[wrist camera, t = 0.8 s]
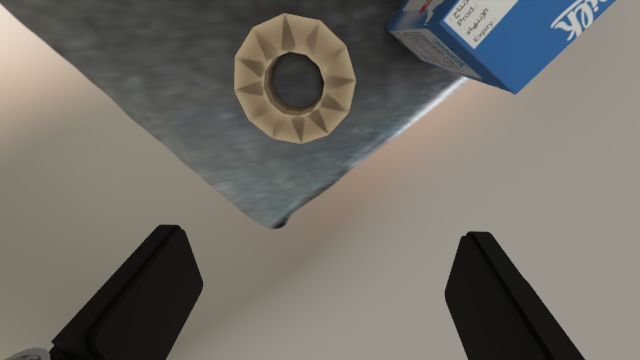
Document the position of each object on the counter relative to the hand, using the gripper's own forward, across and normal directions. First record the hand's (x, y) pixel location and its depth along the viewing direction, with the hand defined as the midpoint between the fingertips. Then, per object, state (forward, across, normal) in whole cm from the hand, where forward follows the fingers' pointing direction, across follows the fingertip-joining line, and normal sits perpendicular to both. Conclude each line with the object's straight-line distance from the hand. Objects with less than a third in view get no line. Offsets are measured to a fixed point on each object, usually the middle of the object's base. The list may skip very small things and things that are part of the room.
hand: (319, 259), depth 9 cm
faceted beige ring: (+30, +5, -1) cm, 30 cm away
